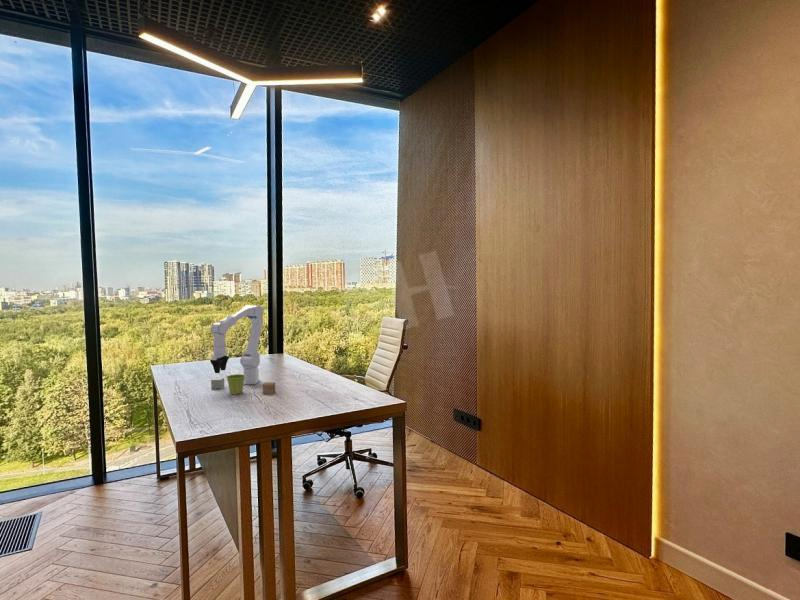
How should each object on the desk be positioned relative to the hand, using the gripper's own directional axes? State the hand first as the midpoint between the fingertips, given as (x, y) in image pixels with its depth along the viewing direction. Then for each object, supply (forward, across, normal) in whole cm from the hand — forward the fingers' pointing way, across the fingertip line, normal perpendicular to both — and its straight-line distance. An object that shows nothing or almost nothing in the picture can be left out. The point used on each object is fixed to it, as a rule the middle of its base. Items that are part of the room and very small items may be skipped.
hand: (220, 371), depth 238 cm
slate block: (+10, -8, -4) cm, 14 cm away
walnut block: (+10, +4, +26) cm, 29 cm away
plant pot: (+11, +4, +10) cm, 15 cm away
